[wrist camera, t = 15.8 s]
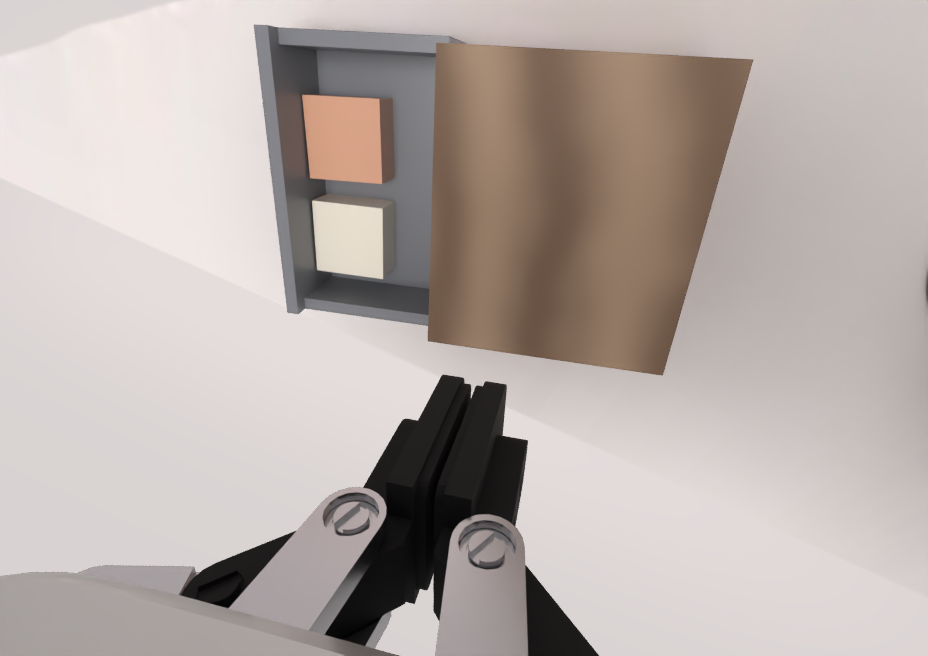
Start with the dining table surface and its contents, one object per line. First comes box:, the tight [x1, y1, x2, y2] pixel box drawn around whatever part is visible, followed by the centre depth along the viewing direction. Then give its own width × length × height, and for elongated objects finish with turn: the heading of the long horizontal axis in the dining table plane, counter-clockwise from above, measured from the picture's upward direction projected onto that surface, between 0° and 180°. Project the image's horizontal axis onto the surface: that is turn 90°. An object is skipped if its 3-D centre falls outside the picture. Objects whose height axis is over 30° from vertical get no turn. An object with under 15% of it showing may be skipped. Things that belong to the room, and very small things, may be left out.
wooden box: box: [428, 43, 753, 375], centre depth 29 cm, size 14×16×8 cm
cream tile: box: [312, 194, 395, 279], centre depth 35 cm, size 5×5×2 cm
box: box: [254, 25, 466, 326], centre depth 32 cm, size 10×17×6 cm, turn 176°
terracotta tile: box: [302, 94, 394, 184], centre depth 32 cm, size 5×5×2 cm
